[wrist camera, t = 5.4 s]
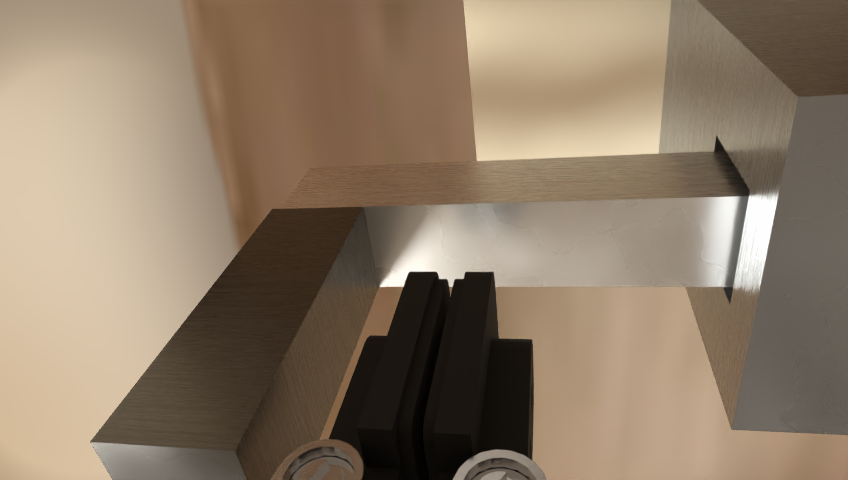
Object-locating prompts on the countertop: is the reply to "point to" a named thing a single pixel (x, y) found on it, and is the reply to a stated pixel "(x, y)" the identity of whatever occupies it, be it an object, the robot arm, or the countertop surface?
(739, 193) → the l-shaped metal bar
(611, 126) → the board
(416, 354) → the robot arm
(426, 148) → the countertop surface
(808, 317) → the metal block
